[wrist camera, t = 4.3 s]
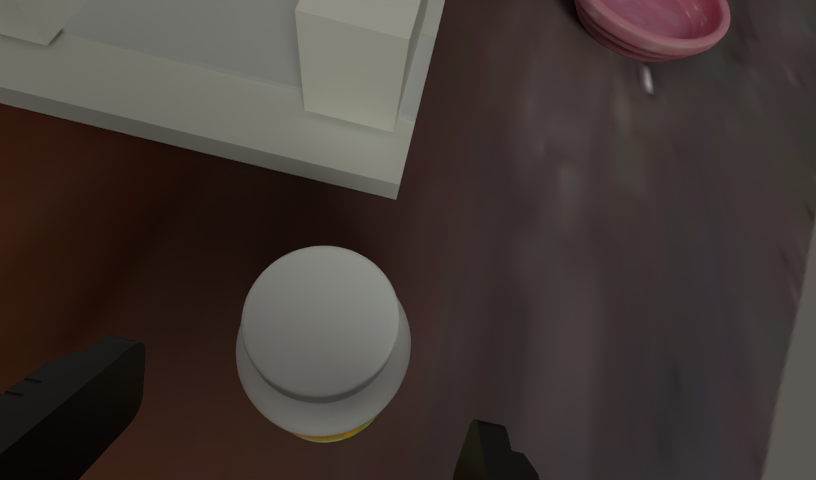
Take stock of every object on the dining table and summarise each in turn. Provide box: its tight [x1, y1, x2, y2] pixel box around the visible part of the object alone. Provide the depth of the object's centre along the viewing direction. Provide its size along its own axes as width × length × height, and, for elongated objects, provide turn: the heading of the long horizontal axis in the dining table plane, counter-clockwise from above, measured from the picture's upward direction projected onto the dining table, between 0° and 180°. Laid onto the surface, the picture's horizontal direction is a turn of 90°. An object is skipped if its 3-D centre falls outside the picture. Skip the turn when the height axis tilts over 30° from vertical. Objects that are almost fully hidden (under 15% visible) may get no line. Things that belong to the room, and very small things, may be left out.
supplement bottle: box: [236, 246, 411, 443], centre depth 15 cm, size 5×5×10 cm
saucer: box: [574, 0, 730, 62], centre depth 34 cm, size 12×12×3 cm
